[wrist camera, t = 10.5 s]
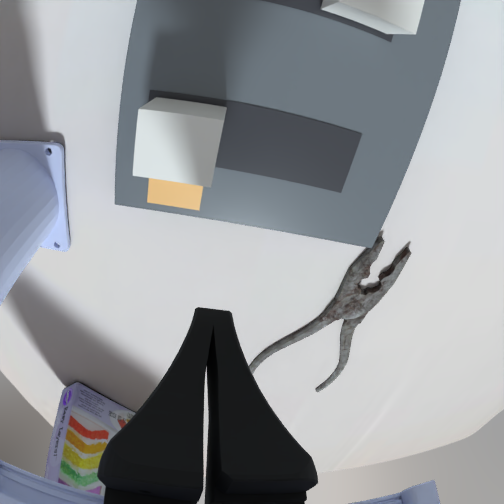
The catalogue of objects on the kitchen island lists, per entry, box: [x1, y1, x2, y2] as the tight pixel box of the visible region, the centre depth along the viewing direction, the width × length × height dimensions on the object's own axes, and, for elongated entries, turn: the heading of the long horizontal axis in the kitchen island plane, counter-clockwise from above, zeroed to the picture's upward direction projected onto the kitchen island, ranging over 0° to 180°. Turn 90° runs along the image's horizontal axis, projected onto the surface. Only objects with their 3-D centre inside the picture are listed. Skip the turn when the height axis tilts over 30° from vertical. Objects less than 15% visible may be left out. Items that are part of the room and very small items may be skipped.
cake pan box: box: [44, 382, 136, 496], centre depth 30 cm, size 19×5×18 cm, turn 36°
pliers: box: [249, 237, 411, 392], centre depth 27 cm, size 10×1×20 cm
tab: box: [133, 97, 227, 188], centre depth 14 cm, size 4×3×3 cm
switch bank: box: [115, 0, 461, 248], centre depth 14 cm, size 16×19×2 cm
